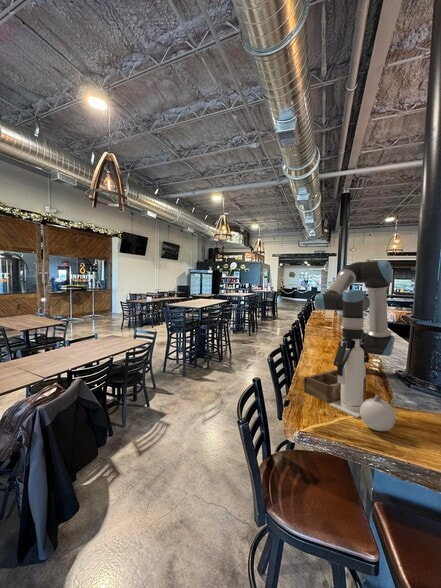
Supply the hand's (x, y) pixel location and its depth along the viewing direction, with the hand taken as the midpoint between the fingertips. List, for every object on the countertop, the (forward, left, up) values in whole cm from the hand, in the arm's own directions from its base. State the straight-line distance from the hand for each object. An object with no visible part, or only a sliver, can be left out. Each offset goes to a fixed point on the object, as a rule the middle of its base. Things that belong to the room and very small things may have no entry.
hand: (351, 380), depth 105 cm
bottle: (0, 0, -11) cm, 11 cm away
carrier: (-9, -14, -11) cm, 20 cm away
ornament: (+7, +14, -11) cm, 19 cm away
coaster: (0, 0, -11) cm, 11 cm away
